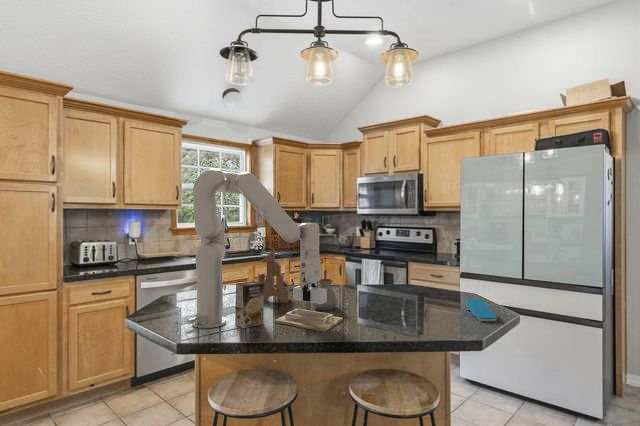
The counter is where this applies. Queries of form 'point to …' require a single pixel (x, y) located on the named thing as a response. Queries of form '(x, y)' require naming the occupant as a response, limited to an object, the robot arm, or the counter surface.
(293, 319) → the cradle
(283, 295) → the wooden toy
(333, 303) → the coffee pot
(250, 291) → the coffee box
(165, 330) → the counter surface
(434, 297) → the counter surface
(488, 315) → the blue block
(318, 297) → the white block
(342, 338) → the counter surface
